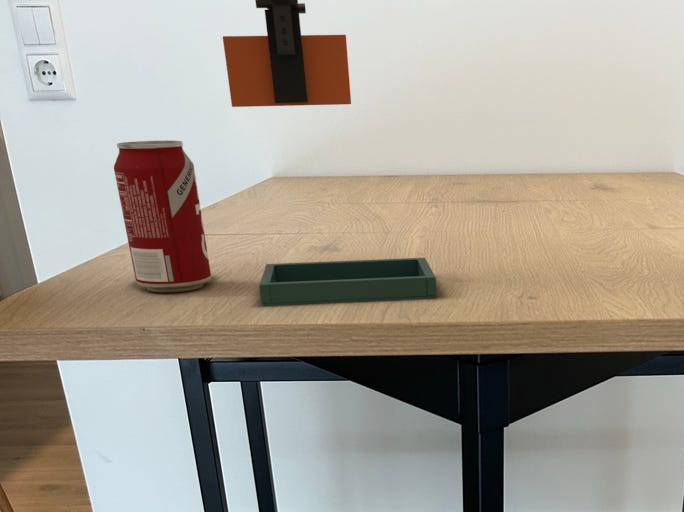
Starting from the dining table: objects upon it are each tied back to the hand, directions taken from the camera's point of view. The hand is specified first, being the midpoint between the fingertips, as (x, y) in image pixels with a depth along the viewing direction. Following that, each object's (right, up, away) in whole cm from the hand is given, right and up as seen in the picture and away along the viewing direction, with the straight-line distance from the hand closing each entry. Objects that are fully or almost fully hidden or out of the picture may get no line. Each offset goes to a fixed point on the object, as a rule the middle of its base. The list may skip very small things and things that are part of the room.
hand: (291, 101), depth 81 cm
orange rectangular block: (0, 0, 0) cm, 0 cm away
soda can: (-12, -14, +6) cm, 20 cm away
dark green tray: (+5, -16, +2) cm, 17 cm away
